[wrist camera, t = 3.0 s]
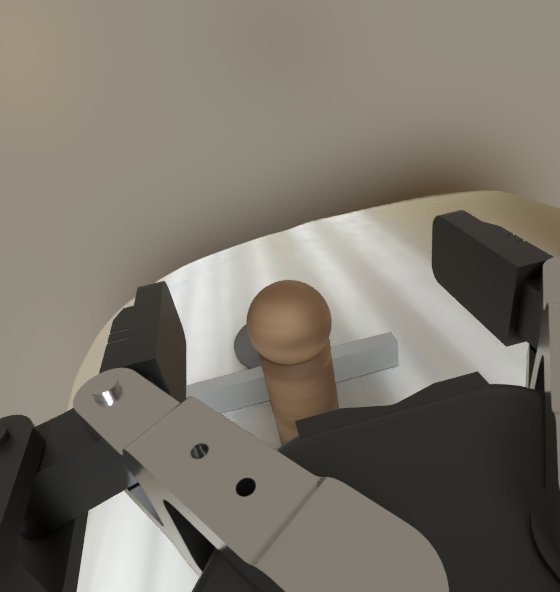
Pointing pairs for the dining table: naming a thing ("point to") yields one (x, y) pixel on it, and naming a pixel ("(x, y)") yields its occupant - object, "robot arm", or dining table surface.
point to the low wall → (253, 388)
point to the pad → (246, 350)
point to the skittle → (294, 352)
